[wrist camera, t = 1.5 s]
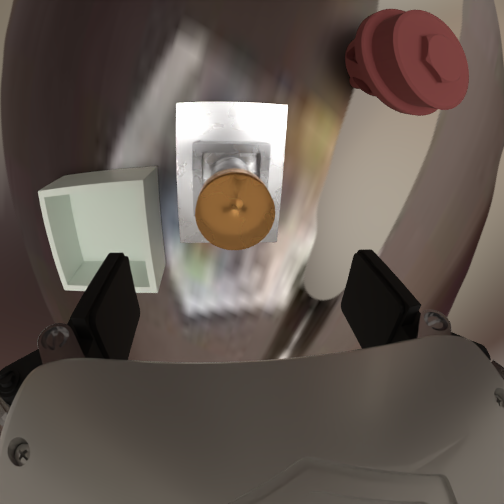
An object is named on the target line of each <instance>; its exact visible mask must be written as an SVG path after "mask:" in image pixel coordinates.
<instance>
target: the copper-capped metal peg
mask: <svg viewBox="0 0 504 504" xmlns="http://www.w3.org/2000/svg"><path fill="white" fill-rule="evenodd" d="M195 219H196V224H197V226H198V229H199V231H200V232H201V234H202V235H203V236H204V238H205V239H206V240H207V241H209V242H210V243H211V244H213V245H215V246H217V247H219V248H223V249H227V250H242V249H246V248H249V247H252V246H254V245H256V244H257V243H259V242H260V241H261V240H263V239H264V238H265V237H266V235H267V234H268V233H269V231H270V230H271V228H272V226H273V223H274V220H275V205H274V201H273V198H272V196H271V194H270V193H269V191H268V189H267V187H266V186H265V184H264V183H263V181H262V180H261V179H260V178H259V177H258V176H256V175H255V174H254V173H252V172H250V171H249V170H248V168H247V166H246V164H245V163H244V162H243V161H242V160H240V159H238V158H235V157H226V158H223V159H220V160H219V161H218V162H216V163H215V165H214V166H213V168H212V170H211V175H210V178H209V179H208V180H207V181H206V182H205V183H204V184H203V186H202V188H201V190H200V192H199V195H198V199H197V204H196V209H195Z"/></svg>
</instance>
